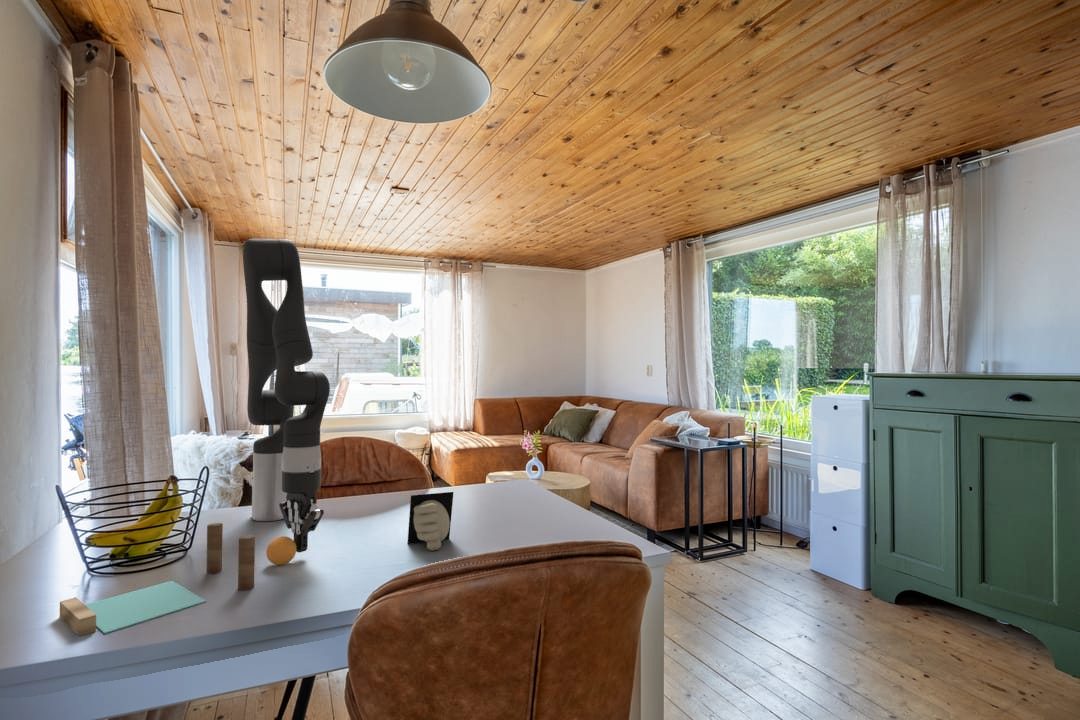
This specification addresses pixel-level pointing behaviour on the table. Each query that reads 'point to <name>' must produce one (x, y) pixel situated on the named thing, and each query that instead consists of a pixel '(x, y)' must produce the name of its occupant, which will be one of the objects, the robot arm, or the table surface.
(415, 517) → the decorative object
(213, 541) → the post
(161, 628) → the table surface
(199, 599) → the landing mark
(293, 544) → the ball
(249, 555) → the post
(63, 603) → the rail
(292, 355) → the robot arm
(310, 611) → the table surface
